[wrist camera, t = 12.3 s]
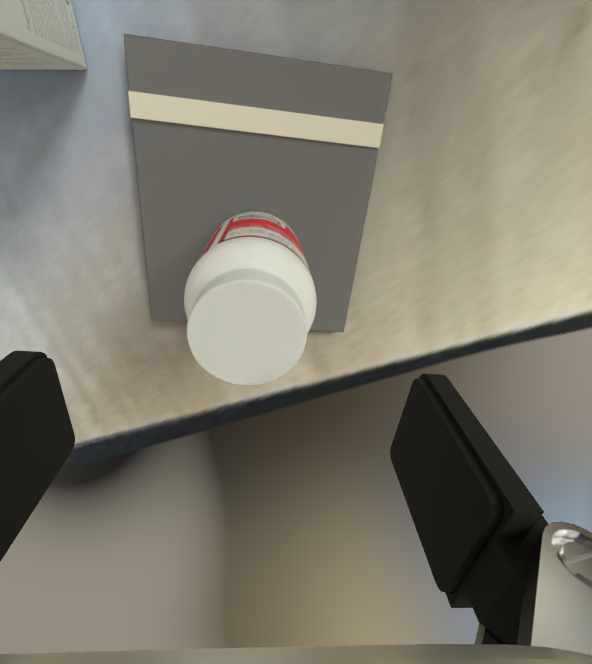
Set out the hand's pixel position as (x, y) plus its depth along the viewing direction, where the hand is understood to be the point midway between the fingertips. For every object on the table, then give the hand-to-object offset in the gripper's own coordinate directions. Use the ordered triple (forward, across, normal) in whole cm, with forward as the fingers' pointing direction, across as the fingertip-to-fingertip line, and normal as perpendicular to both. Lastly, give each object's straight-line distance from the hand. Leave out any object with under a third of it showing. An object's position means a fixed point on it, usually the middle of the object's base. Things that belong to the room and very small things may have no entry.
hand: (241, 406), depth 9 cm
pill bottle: (+16, 0, +1) cm, 16 cm away
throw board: (+16, 0, -2) cm, 17 cm away
